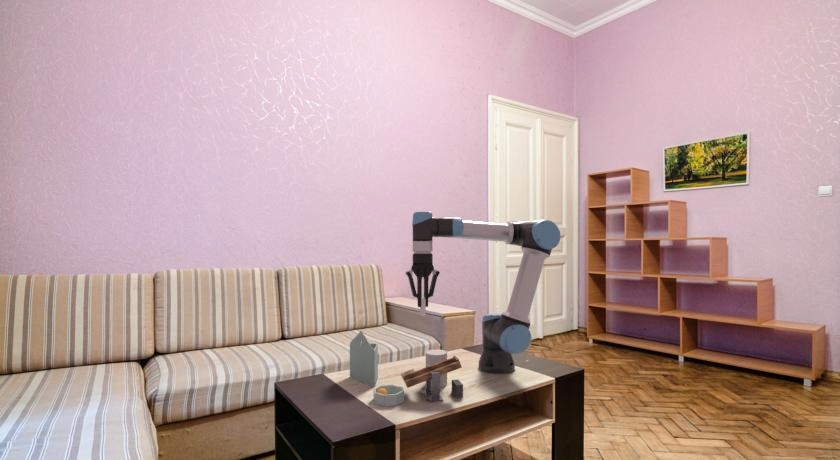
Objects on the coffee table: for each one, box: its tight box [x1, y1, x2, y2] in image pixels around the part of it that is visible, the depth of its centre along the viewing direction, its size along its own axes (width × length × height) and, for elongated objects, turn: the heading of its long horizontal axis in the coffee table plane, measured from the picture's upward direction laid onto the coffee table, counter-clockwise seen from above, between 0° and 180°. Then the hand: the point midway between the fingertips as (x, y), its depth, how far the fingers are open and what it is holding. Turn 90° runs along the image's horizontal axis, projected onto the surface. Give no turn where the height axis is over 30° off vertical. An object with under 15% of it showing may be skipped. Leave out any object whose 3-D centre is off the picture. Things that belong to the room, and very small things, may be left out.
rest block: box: [451, 378, 464, 399], centre depth 157 cm, size 2×6×4 cm, turn 12°
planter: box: [349, 330, 379, 388], centre depth 173 cm, size 16×8×20 cm, turn 41°
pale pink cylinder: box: [425, 349, 448, 388], centre depth 168 cm, size 8×8×12 cm
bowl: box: [373, 384, 405, 407], centre depth 152 cm, size 10×10×4 cm
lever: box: [400, 355, 462, 388], centre depth 158 cm, size 20×13×3 cm
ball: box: [377, 388, 387, 395], centre depth 151 cm, size 4×4×4 cm
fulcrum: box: [422, 364, 444, 404], centre depth 155 cm, size 5×10×10 cm, turn 12°
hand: (422, 315), depth 166 cm, fingers closed
